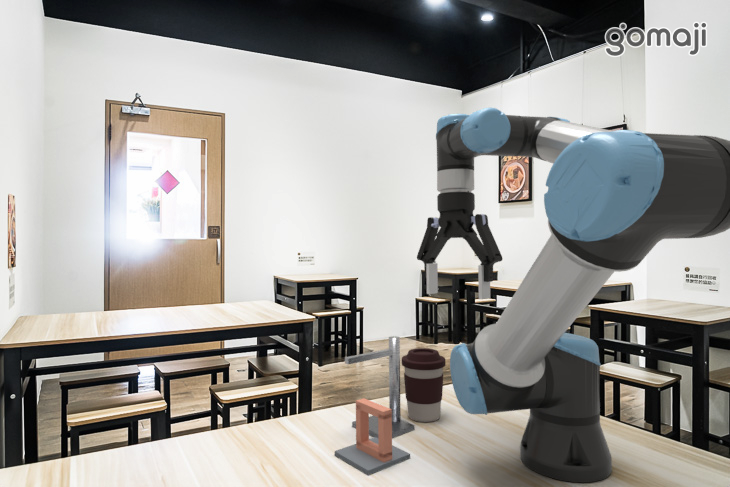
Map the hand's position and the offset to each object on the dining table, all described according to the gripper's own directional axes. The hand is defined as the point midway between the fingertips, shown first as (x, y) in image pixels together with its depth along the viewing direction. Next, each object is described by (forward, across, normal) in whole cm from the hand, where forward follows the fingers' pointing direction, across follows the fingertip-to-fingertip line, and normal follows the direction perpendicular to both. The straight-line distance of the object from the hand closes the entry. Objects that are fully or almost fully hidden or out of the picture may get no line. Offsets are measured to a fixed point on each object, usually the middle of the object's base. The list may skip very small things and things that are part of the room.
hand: (457, 296), depth 98 cm
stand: (+29, +13, +11) cm, 34 cm away
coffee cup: (+29, +12, -2) cm, 31 cm away
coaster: (+29, +4, +20) cm, 35 cm away
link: (+28, +4, +20) cm, 34 cm away
